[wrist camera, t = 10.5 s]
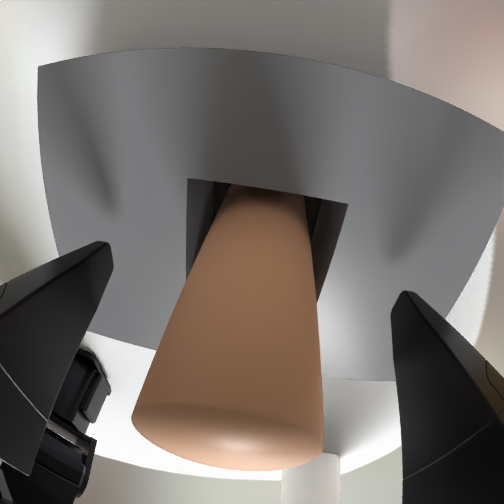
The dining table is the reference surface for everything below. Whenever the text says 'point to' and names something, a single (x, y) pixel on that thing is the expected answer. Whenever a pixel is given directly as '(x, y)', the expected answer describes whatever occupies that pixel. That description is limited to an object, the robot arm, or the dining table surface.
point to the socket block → (267, 183)
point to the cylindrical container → (312, 482)
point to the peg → (242, 344)
